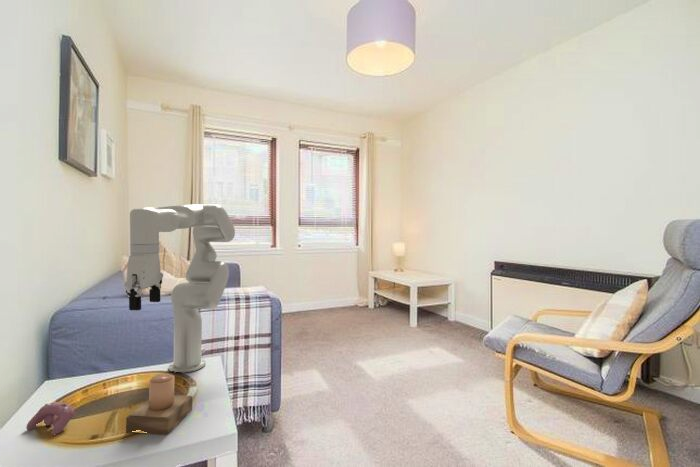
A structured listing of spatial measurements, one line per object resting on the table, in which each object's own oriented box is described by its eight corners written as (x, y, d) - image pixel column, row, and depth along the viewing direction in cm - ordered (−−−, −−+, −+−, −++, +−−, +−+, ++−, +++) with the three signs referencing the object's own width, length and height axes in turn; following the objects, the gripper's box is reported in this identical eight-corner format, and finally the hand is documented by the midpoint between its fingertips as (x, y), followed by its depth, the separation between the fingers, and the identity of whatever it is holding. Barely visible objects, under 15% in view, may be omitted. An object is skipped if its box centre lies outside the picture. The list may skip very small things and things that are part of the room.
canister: (157, 398, 97) (158, 372, 97) (178, 400, 96) (179, 373, 96) (143, 409, 91) (144, 381, 91) (165, 410, 90) (166, 382, 90)
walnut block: (155, 408, 100) (155, 393, 100) (192, 409, 99) (192, 395, 99) (126, 432, 88) (126, 416, 88) (167, 434, 87) (168, 418, 87)
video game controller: (69, 434, 89) (81, 404, 92) (52, 436, 85) (65, 404, 88) (40, 429, 91) (53, 400, 94) (22, 430, 87) (36, 399, 90)
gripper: (149, 247, 112) (150, 298, 113) (112, 252, 95) (113, 313, 96) (172, 247, 112) (172, 299, 113) (139, 252, 95) (139, 314, 96)
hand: (145, 305), depth 104 cm, fingers open, 9 cm apart
